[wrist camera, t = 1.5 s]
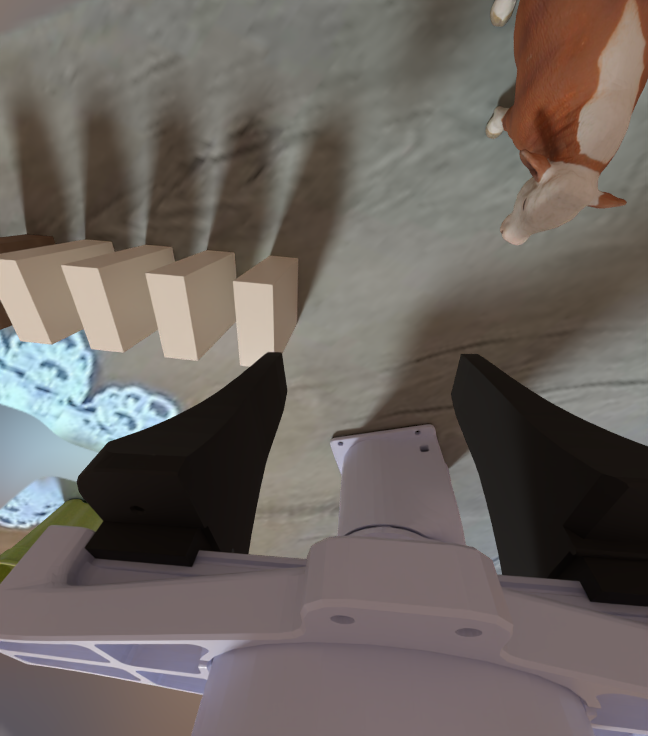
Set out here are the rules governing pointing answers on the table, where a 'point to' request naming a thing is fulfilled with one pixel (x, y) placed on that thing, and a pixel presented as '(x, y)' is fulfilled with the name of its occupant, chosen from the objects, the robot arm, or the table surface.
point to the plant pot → (65, 515)
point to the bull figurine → (569, 102)
